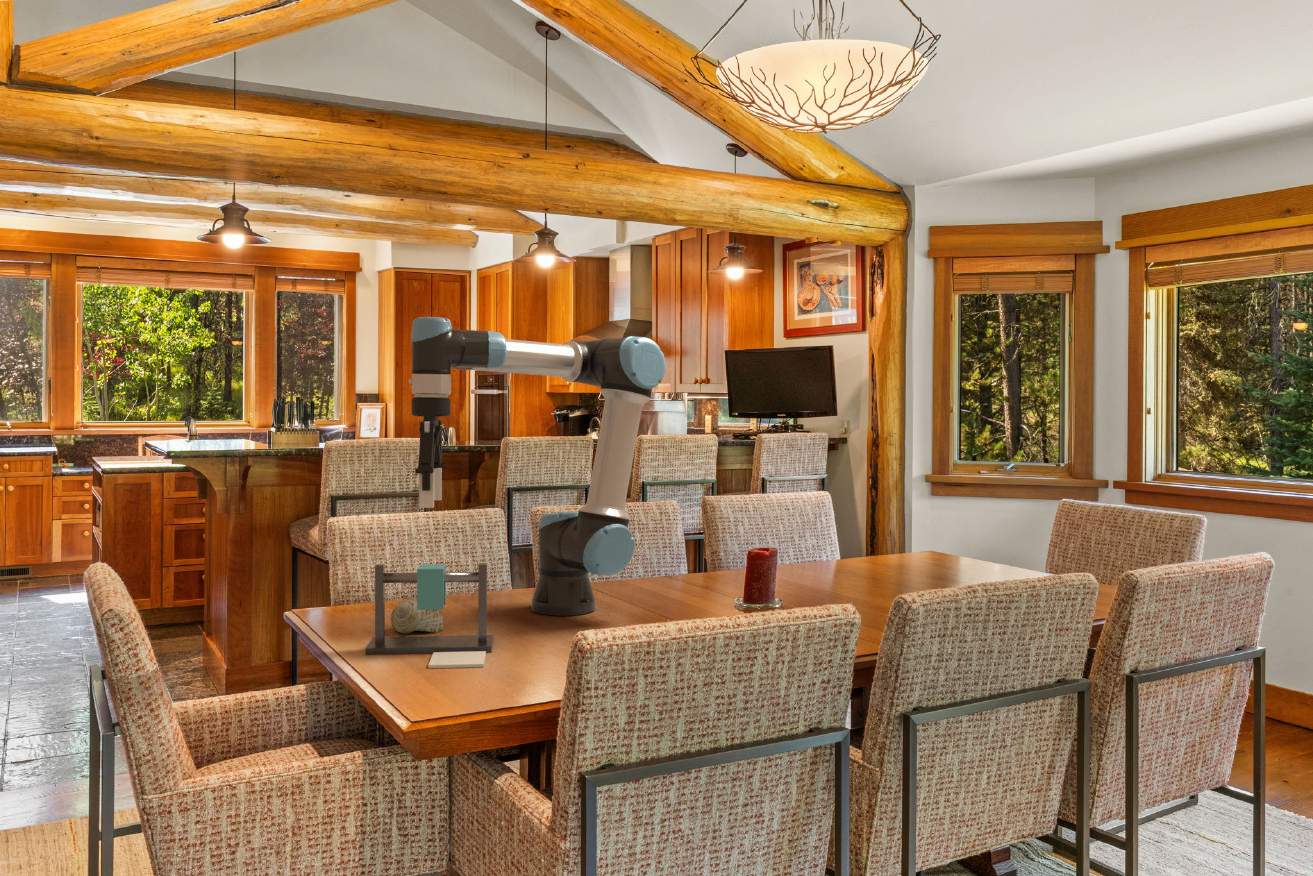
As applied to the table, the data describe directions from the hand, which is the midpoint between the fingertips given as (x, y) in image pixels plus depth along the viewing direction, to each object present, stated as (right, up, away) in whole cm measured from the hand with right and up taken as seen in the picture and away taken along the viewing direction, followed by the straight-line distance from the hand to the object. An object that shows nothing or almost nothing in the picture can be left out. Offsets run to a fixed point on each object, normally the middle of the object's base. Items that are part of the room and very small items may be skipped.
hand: (430, 503), depth 192 cm
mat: (+7, -29, -9) cm, 31 cm away
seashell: (-7, -28, +14) cm, 32 cm away
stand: (0, -29, +1) cm, 29 cm away
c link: (0, -20, +1) cm, 20 cm away
